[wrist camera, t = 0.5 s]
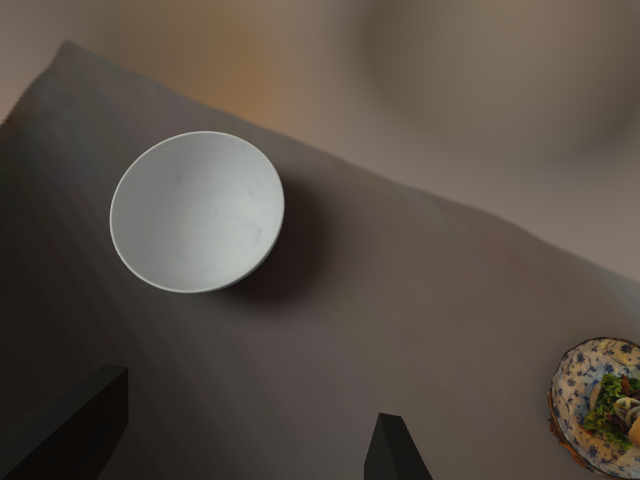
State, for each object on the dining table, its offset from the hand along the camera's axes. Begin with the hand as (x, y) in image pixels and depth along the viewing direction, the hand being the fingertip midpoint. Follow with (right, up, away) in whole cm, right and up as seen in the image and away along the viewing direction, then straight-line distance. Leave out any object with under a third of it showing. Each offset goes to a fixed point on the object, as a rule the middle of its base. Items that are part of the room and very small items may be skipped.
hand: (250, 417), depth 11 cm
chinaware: (-8, +5, +31) cm, 32 cm away
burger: (+28, -10, +26) cm, 39 cm away
